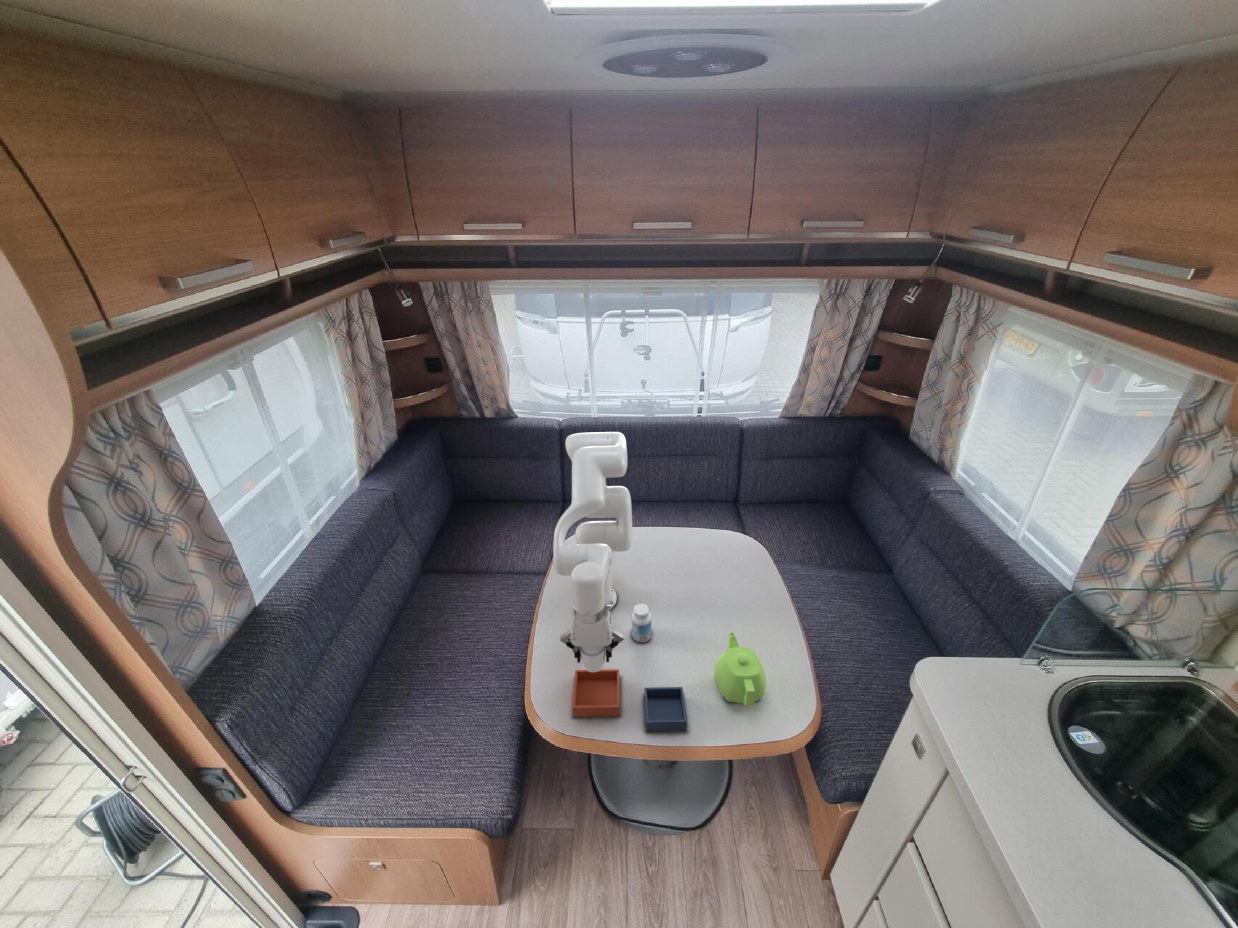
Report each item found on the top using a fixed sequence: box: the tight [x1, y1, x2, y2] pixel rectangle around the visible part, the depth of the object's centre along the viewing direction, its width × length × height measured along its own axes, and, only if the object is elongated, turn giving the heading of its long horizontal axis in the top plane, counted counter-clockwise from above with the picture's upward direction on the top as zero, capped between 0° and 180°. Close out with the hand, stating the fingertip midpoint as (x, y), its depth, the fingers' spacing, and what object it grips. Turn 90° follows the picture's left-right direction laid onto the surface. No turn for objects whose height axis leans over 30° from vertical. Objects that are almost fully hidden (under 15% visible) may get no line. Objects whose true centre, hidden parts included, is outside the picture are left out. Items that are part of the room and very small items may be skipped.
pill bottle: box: [631, 603, 652, 643], centre depth 148 cm, size 6×6×11 cm
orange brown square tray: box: [571, 668, 621, 718], centre depth 132 cm, size 11×12×4 cm
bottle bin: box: [643, 686, 688, 732], centre depth 128 cm, size 10×10×4 cm
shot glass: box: [579, 646, 606, 672], centre depth 125 cm, size 7×7×7 cm
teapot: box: [714, 631, 767, 708], centre depth 132 cm, size 20×13×13 cm
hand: (593, 657), depth 125 cm, fingers closed on shot glass, 6 cm apart
